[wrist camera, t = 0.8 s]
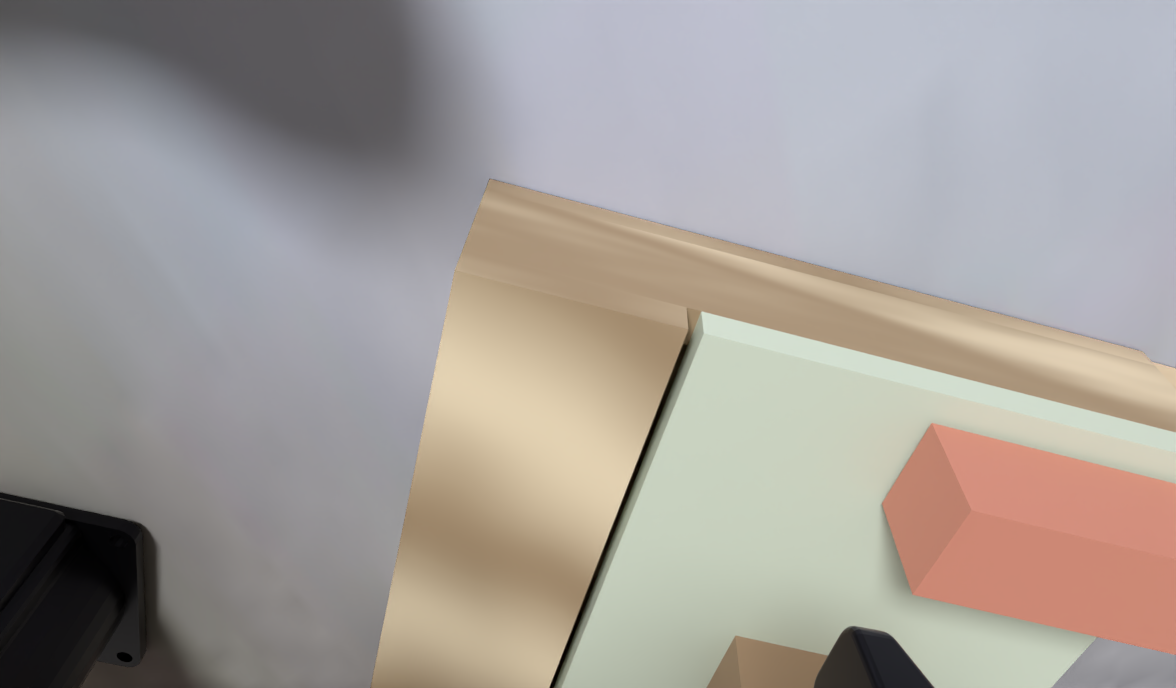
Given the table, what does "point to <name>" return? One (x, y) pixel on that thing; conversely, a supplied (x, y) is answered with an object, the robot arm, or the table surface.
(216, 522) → the table surface
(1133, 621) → the block
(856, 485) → the lid
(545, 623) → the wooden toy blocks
